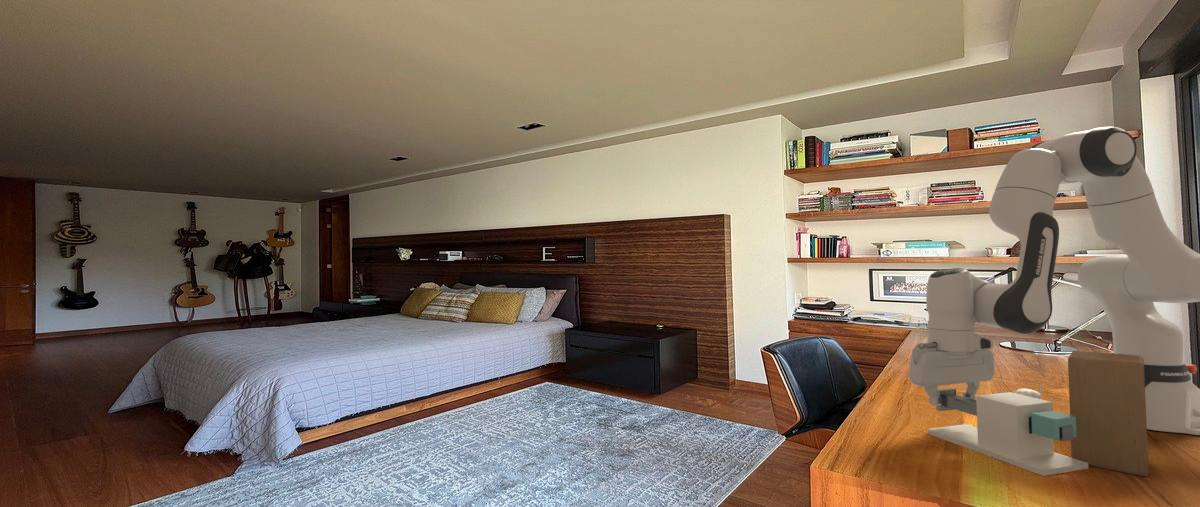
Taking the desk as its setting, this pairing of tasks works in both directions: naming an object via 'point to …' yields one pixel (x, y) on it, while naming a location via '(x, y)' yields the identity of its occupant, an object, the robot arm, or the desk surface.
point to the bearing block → (1010, 434)
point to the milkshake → (1029, 392)
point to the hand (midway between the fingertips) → (952, 403)
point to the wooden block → (1109, 411)
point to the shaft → (970, 406)
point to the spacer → (1051, 423)
